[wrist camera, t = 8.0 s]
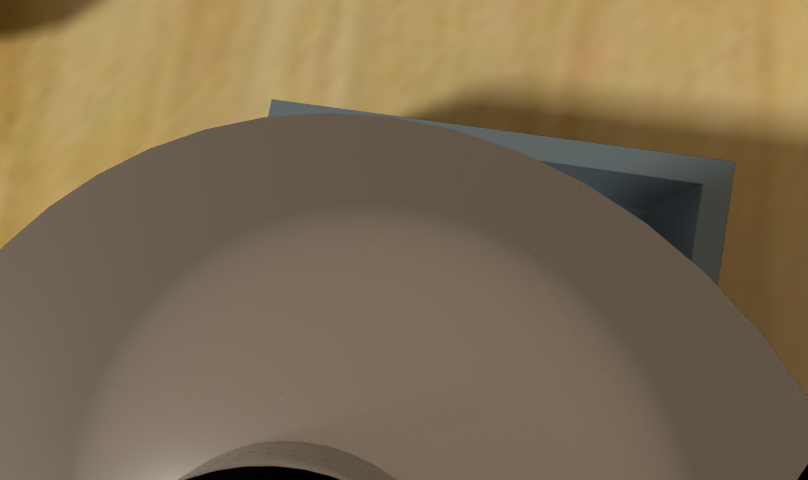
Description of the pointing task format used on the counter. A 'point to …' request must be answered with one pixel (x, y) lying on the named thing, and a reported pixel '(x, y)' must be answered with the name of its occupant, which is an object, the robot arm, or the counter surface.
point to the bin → (620, 181)
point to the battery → (372, 322)
